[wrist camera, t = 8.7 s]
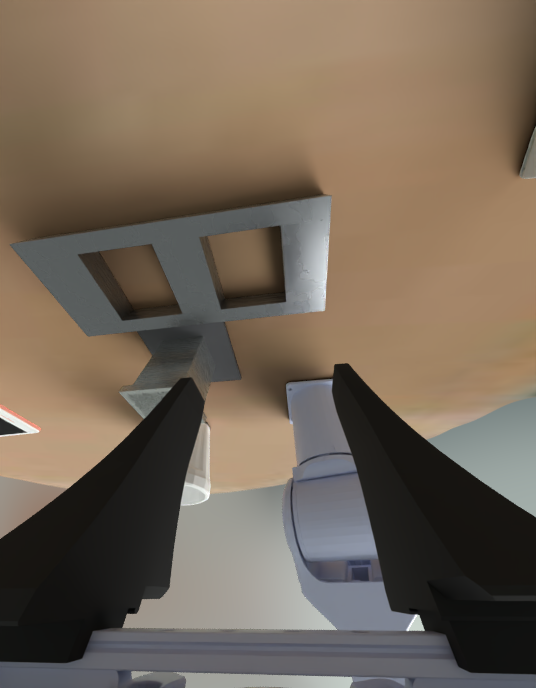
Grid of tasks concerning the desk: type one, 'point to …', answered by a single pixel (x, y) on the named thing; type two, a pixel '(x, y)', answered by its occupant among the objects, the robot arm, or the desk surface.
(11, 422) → the cell phone
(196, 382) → the grey boxy piece
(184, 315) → the grey flat block
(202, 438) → the cup
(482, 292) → the desk surface
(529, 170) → the skincare box
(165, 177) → the desk surface
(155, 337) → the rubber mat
